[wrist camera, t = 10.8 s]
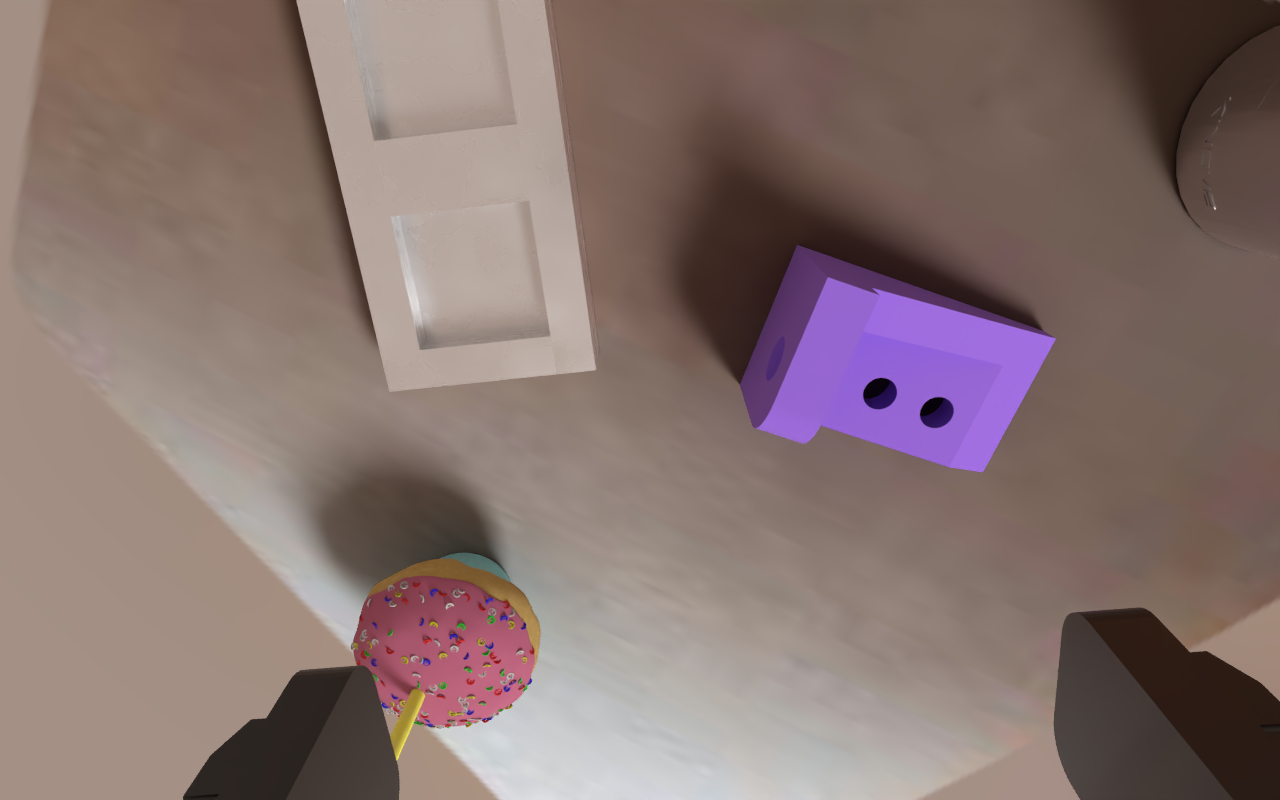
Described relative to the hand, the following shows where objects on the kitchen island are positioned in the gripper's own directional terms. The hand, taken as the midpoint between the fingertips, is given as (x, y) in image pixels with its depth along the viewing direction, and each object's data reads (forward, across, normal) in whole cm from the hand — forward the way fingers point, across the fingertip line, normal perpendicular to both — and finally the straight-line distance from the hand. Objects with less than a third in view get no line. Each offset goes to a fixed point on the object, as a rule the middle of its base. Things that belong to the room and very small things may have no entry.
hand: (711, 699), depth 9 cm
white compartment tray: (+28, +8, -9) cm, 30 cm away
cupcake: (+28, +12, +16) cm, 35 cm away
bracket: (+28, -10, +6) cm, 31 cm away
